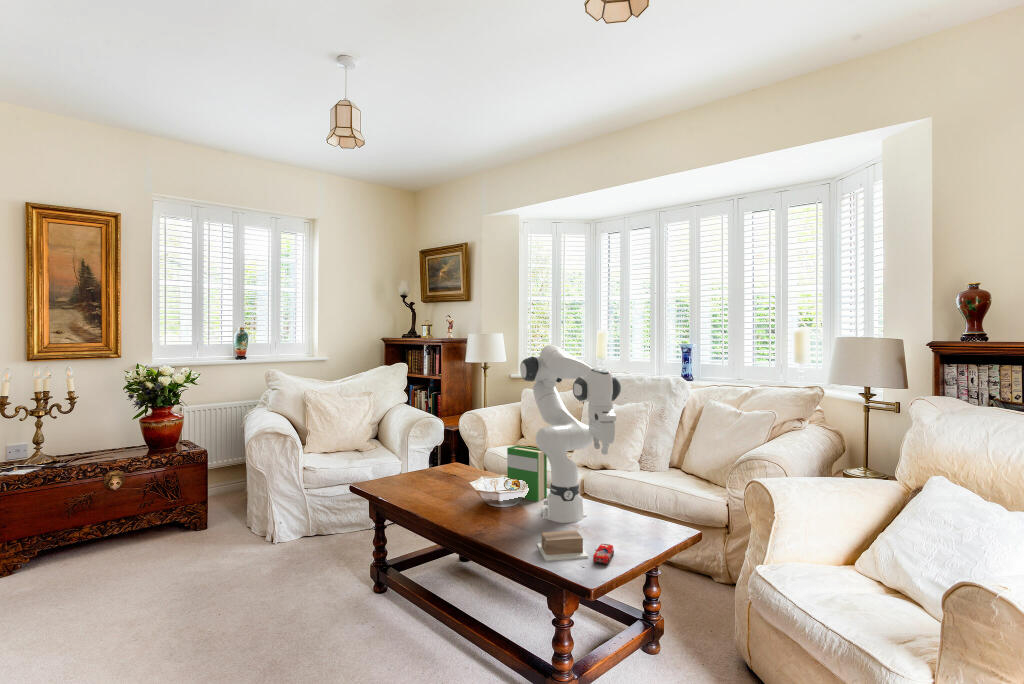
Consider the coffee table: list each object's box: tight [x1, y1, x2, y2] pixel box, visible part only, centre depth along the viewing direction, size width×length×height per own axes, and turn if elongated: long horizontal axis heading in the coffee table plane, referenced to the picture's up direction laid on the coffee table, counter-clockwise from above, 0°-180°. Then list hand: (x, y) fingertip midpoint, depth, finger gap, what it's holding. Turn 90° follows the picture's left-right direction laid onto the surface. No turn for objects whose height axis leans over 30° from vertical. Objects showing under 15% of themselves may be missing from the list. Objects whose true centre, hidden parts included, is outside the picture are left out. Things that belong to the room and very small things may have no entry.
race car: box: [592, 543, 615, 565], centre depth 183 cm, size 13×5×4 cm, turn 156°
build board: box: [536, 542, 589, 562], centre depth 189 cm, size 14×15×1 cm
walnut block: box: [540, 529, 584, 555], centre depth 189 cm, size 8×13×5 cm, turn 99°
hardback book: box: [506, 444, 548, 503], centre depth 252 cm, size 18×7×24 cm, turn 51°
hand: (600, 451), depth 194 cm, fingers open, 8 cm apart
